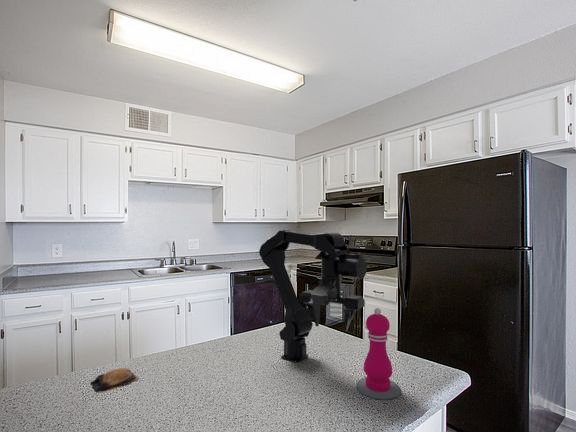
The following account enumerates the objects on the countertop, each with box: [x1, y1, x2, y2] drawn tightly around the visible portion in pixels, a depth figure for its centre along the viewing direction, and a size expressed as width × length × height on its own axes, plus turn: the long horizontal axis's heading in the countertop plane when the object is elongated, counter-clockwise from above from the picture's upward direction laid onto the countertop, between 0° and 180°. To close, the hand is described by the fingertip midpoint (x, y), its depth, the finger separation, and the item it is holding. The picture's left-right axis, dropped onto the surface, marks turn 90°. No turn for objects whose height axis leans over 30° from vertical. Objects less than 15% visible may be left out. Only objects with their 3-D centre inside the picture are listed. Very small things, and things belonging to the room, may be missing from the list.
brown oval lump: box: [90, 367, 140, 393], centre depth 87 cm, size 11×8×4 cm
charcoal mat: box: [356, 376, 401, 401], centre depth 84 cm, size 11×11×1 cm
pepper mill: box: [363, 307, 393, 392], centre depth 85 cm, size 7×7×20 cm
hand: (331, 328), depth 95 cm, fingers open, 9 cm apart
